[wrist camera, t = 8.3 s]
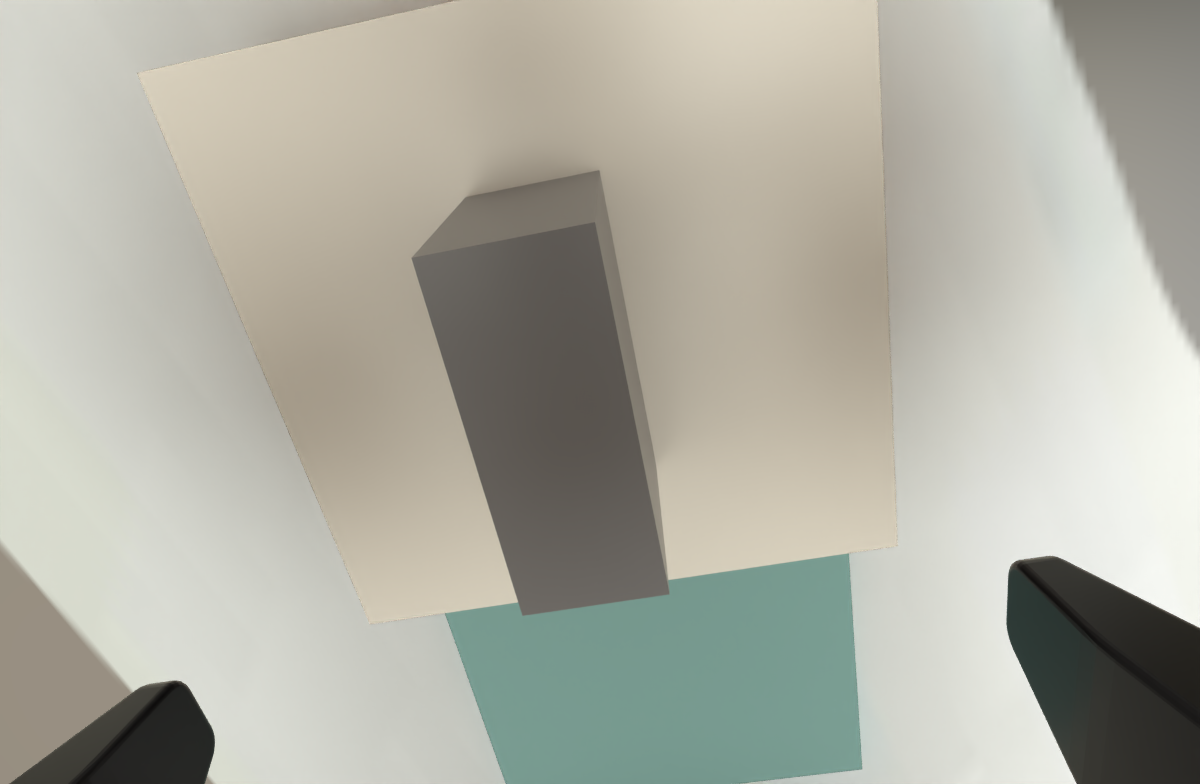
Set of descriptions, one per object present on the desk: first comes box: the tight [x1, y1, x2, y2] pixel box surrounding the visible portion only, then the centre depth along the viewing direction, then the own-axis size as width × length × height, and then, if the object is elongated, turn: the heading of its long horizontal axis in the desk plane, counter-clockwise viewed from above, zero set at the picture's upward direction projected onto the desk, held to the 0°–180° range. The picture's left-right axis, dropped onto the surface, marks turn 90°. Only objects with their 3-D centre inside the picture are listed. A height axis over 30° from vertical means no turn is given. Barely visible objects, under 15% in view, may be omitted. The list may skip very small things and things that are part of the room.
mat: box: [445, 553, 862, 784], centre depth 24 cm, size 12×12×1 cm
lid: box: [137, 0, 898, 624], centre depth 13 cm, size 12×12×5 cm
